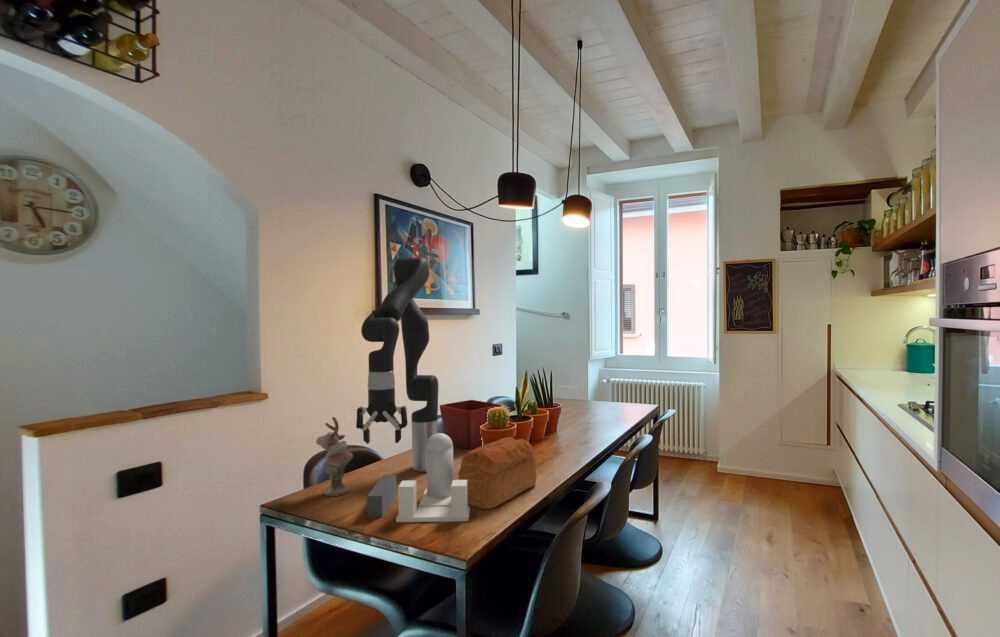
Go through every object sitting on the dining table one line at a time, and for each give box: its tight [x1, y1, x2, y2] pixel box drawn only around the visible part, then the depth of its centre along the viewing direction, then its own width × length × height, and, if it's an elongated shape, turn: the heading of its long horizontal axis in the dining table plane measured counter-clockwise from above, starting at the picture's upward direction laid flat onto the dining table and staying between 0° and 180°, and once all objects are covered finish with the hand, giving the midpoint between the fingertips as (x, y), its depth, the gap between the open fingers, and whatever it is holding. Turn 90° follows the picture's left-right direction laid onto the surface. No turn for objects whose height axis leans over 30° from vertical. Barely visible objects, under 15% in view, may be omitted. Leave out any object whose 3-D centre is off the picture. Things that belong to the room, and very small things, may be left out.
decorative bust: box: [315, 416, 354, 497], centre depth 154 cm, size 11×13×25 cm
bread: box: [458, 436, 537, 510], centre depth 152 cm, size 14×27×15 cm, turn 145°
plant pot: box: [439, 399, 502, 450], centre depth 209 cm, size 19×19×17 cm
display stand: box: [395, 432, 471, 523], centre depth 142 cm, size 22×19×19 cm
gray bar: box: [366, 474, 398, 518], centre depth 143 cm, size 18×4×6 cm, turn 179°
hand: (382, 442), depth 143 cm, fingers open, 8 cm apart
